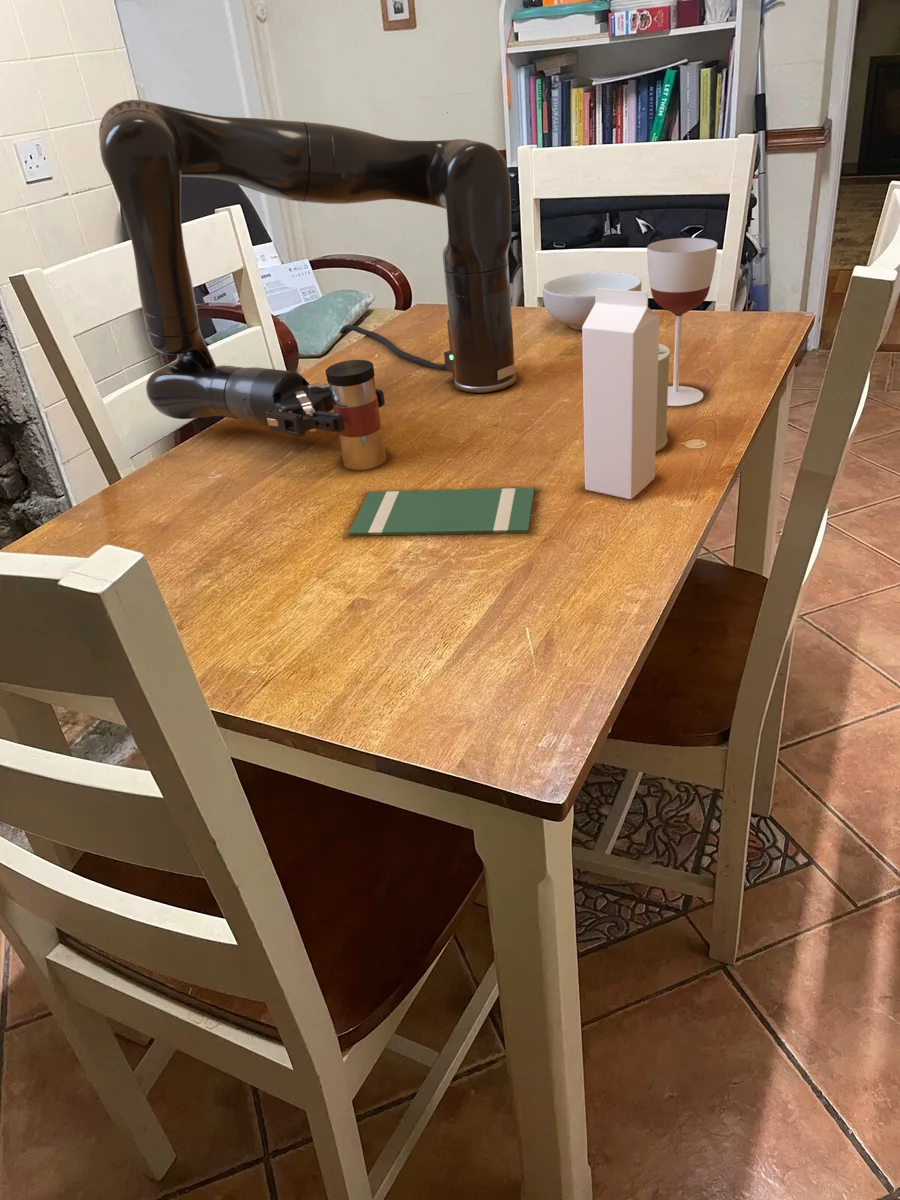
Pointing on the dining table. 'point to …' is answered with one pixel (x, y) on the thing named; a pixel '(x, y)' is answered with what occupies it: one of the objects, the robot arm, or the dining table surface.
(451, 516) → the towel
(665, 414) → the can
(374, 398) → the jar
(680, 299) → the wineglass
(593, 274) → the cereal bowl
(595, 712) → the dining table surface
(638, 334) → the milk
